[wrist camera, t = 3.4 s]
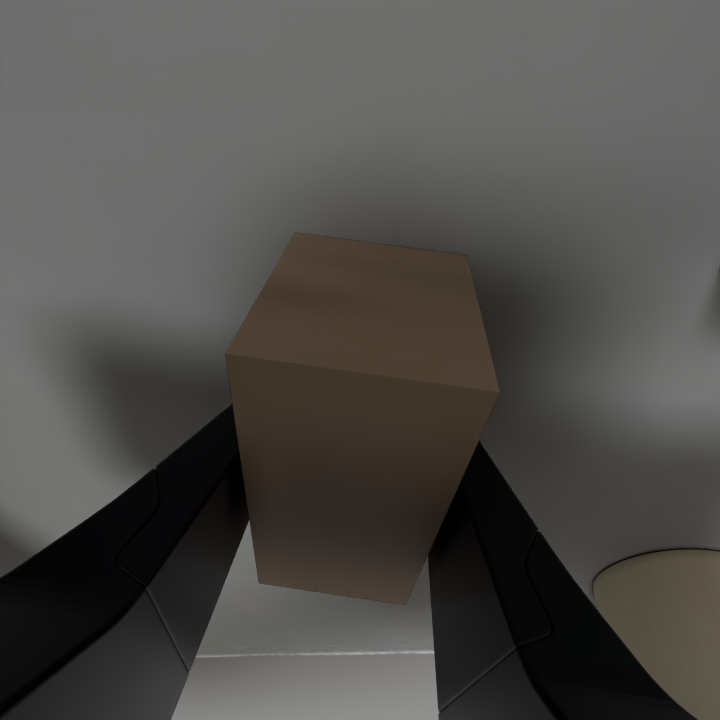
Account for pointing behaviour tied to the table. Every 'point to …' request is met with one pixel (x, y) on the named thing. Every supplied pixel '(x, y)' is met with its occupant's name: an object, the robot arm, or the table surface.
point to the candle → (670, 621)
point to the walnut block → (357, 411)
